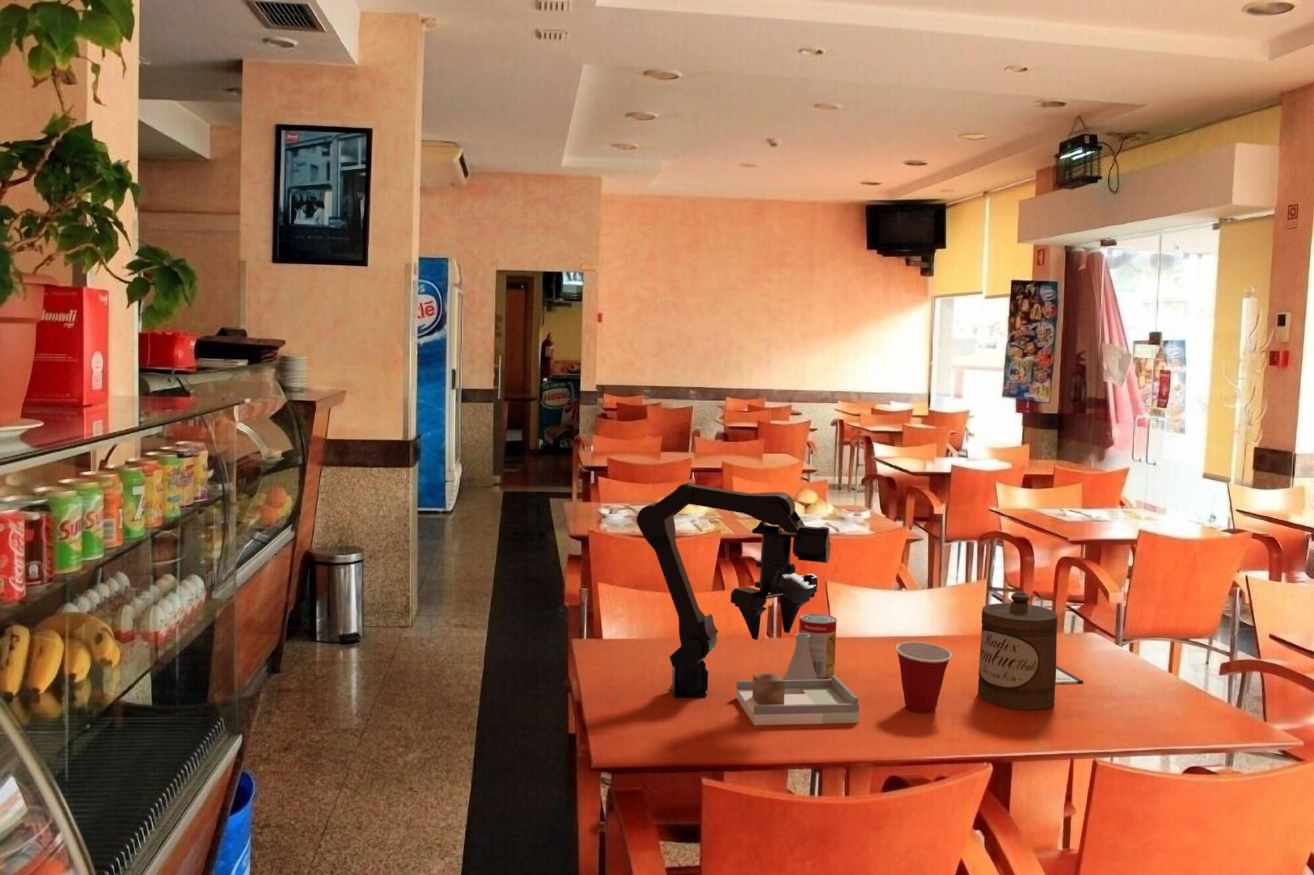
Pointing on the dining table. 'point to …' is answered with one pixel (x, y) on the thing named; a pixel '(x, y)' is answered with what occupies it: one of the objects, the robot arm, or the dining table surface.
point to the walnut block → (768, 689)
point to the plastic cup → (922, 674)
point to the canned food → (820, 642)
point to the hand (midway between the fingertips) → (771, 635)
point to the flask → (801, 660)
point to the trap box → (803, 703)
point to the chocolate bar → (1066, 677)
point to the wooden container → (1018, 654)
